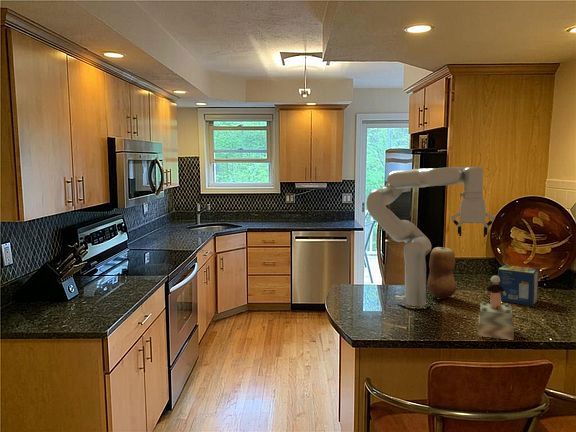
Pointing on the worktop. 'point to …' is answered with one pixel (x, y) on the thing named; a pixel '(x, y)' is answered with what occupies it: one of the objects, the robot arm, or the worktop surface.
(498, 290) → the grandmother figurine
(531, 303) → the protein box
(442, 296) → the butternut squash
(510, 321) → the grey studded block
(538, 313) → the worktop surface
